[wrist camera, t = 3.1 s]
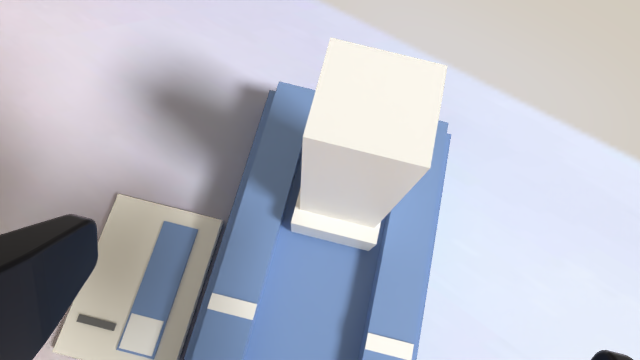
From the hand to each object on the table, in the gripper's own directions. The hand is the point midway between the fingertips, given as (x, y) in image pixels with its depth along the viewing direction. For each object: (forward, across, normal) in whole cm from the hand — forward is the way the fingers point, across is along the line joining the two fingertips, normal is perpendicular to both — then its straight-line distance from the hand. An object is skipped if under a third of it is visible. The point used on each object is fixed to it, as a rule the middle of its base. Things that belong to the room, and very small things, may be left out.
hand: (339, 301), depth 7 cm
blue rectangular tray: (+10, 0, +7) cm, 12 cm away
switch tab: (+10, 0, +4) cm, 11 cm away
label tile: (+8, +8, +9) cm, 14 cm away
